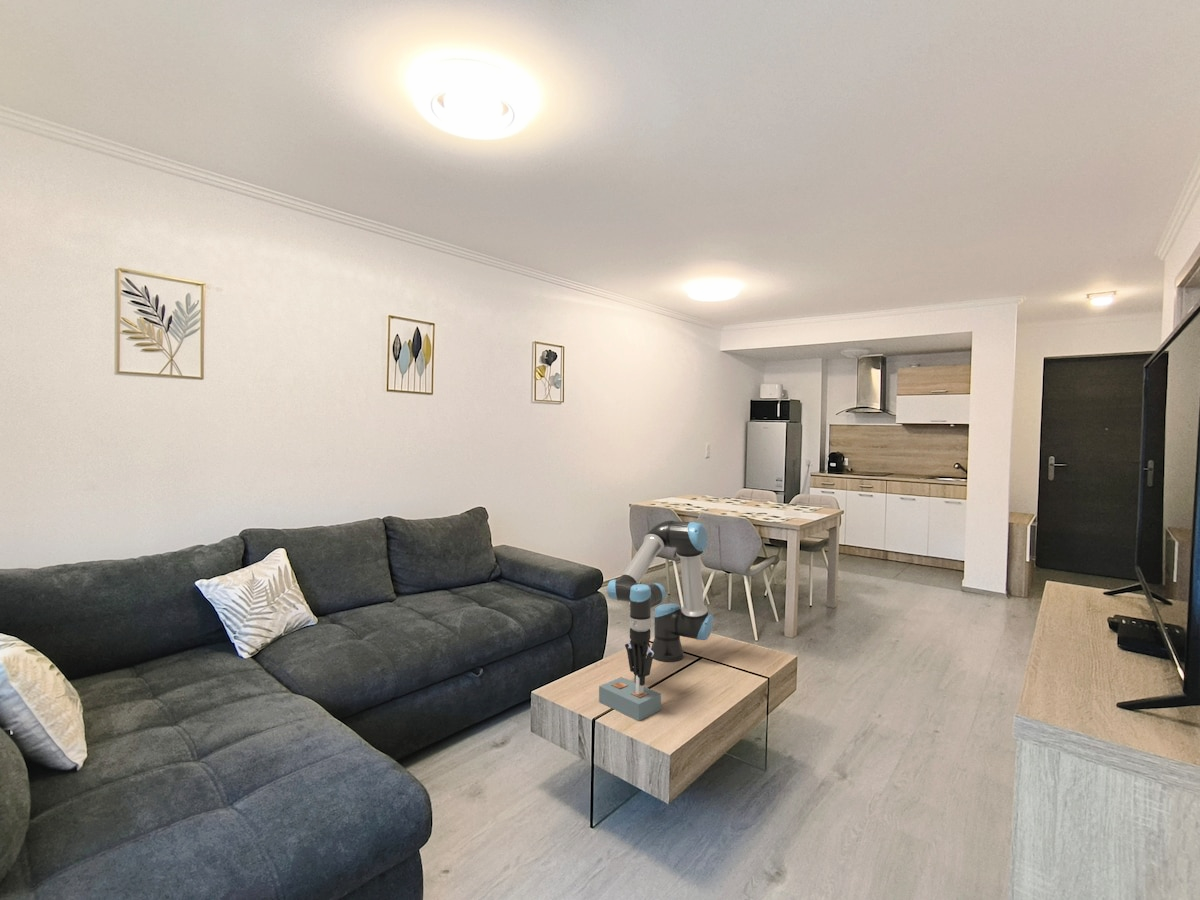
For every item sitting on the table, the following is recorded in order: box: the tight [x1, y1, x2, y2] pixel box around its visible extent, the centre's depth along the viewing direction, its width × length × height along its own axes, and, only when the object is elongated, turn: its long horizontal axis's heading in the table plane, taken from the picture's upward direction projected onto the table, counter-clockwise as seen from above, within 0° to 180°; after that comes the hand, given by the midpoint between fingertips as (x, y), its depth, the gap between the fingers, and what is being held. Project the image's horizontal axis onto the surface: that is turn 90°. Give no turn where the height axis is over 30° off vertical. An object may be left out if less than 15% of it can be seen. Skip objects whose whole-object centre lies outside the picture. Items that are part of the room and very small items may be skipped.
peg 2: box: [632, 692, 648, 698], centre depth 204 cm, size 4×4×6 cm
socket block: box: [598, 676, 662, 722], centre depth 207 cm, size 12×20×6 cm, turn 44°
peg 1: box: [612, 682, 627, 689], centre depth 211 cm, size 4×4×6 cm
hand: (639, 693), depth 203 cm, fingers closed
